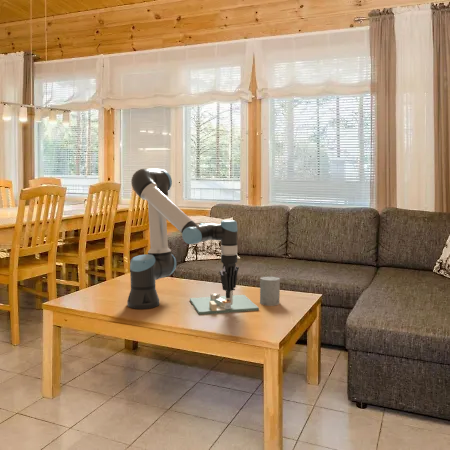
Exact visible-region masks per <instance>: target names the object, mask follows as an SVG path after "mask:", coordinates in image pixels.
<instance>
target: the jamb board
mask: <svg viewBox="0 0 450 450" xmlns="http://www.w3.org/2000/svg"><path fill="white" fill-rule="evenodd" d="M220 298H222V299H224V300H226V295H220ZM189 302H190V303H191V305H192V306H193V308H194V309H195V311H196V312H197V314H198V315H212V314H213V315H214V314H227V313H239V312H254V311H260V308H259V306H258V305H257V304H255V303H254V302H253V301H252V300H251V299H250V298H249V297H247V296H246V294H238V295H237V294H236V295H235V294H233V304H232V305H231V309H223V308H221V307H219V306H217V304H216V303H215V302H214V301H210V296H206V297H205V296H202V297H190V298H189Z"/></svg>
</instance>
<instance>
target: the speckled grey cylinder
mask: <svg viewBox="0 0 450 450" xmlns="http://www.w3.org/2000/svg"><path fill="white" fill-rule="evenodd" d="M280 281H281V278H280V277H279V276H274V275H266V276H265V275H263V276H260V278H259V282H260V284H259V286H260V287H259V304H260V305H262V306H267V307H268V306H270V307H272V306H278V305H280V297H281V295H280V290H281V289H280V287H281V283H280Z"/></svg>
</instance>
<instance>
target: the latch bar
mask: <svg viewBox="0 0 450 450" xmlns="http://www.w3.org/2000/svg"><path fill="white" fill-rule="evenodd" d="M220 296H221V295H220V293H217V292H214V293H210V295H209V297H210V301H214V302H215V303H216V304H217V306H219V307H221V308H223V309H231V301H230V300H224V299H222V298H220Z"/></svg>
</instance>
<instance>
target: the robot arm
mask: <svg viewBox="0 0 450 450" xmlns="http://www.w3.org/2000/svg"><path fill="white" fill-rule="evenodd" d="M130 182H131V188H132V189H133V191H134V192H135V194H136V195H137V196H138V197H139V198H140V199H141V200H143V201H145V200H146V201H147V207H148V208H147V209H148V224H149V225H148V227H149V243H150V244H149V245H150V248H149V250H148V251H147V254H139V255H136V256H133V257H132V258H131V259H130V264H129V269H130V270H129V271H130V292H129V293H128V297H127V304H126V305H127V307H128V308H131V309H135V310H136V309H137V310H146V309H147V310H149V309H153V308H156V307H158V306H159V305H160V298H159V295H158V291H157V289H156V281H157V280H160V279H164V278H168V277H169V276H170V275H172V274H173V273H174V272H175V270H176V268H177V259H176V257H175V256H174V254H172V249H171V248H169V241H168V222H170V224H171V225H172V226H173V227H175V228H176V229H177V230H178V231H179V232H180V233H181V234H182V236H181V237H182V239H183V242H184V243H186V244H188V245H196V244H199V243H202V242H208V241H220V253H221V254H220V262H221V263H222V264H223V265H222V270H220V271H219V276H220V281H221V285H222V290H223V291H225V296H226V300H230V301H231V305H232V304H233V295H234V293H233V291H235V290H236V287H237V280H238V272H239V266H237V265H236V264H237V263H238V222H237V221H236V220H234V219H224V220H221V221H220V223H210V222H203V223H202V222H201V223H199V224H197V223H196V222H195V221H193V220H192V218H190V217H189V216H188V214H186V213H185V212H184V211H183V210H182V209H181V208H179V206H178V205H176V204H175V203H174V202H173V201H172V200H171V199H170V198H169V197H168V196H169V190H171V187H172V185H173V180H172V177H171V175H170V173H169V172H168V171H167V170H165V169H163V168H140V169H137V171H135V172H134V173H133V174H132V177H131V181H130ZM167 221H168V222H167Z"/></svg>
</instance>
